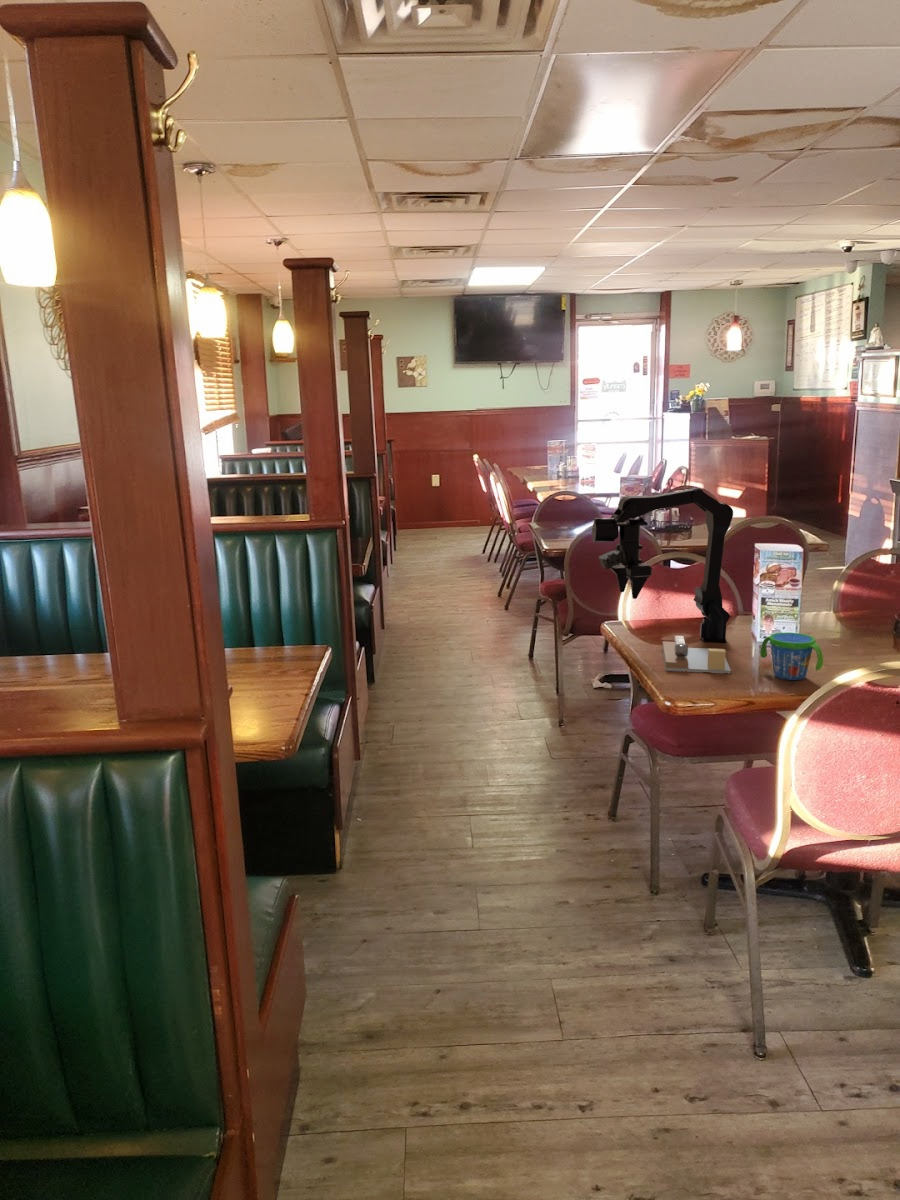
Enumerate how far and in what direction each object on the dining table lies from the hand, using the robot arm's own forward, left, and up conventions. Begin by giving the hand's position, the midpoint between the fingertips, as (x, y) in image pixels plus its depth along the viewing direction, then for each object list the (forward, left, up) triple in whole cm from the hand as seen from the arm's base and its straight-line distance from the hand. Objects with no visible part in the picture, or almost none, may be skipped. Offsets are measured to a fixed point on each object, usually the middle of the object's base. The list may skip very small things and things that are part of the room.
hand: (628, 595), depth 242 cm
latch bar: (-14, +18, -10) cm, 25 cm away
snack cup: (-40, +27, -14) cm, 50 cm away
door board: (-18, +17, -14) cm, 28 cm away
